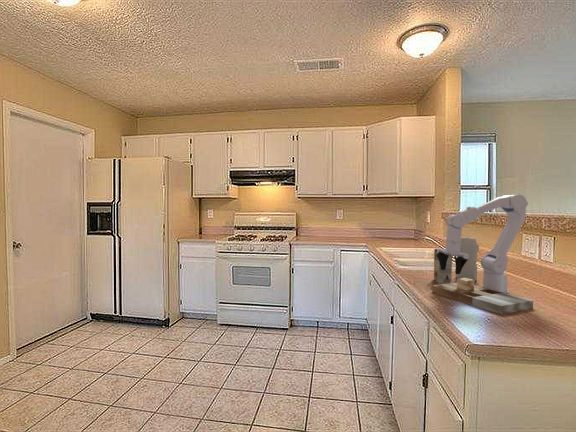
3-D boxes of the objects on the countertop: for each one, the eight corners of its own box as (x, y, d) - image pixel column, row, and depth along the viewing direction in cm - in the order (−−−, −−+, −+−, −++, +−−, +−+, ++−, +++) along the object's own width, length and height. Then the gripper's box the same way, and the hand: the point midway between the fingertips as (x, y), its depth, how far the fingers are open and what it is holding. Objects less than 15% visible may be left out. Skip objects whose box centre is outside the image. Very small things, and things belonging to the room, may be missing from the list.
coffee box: (433, 279, 161) (433, 248, 160) (446, 280, 160) (447, 249, 159) (438, 283, 152) (438, 251, 151) (452, 284, 151) (453, 251, 150)
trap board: (461, 288, 144) (461, 281, 144) (533, 308, 116) (533, 300, 116) (432, 292, 137) (432, 285, 137) (501, 314, 109) (501, 306, 109)
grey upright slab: (478, 279, 160) (479, 237, 160) (477, 281, 157) (478, 238, 156) (455, 276, 167) (456, 236, 166) (453, 278, 164) (455, 236, 163)
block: (464, 286, 135) (464, 277, 135) (473, 289, 131) (474, 279, 131) (456, 287, 133) (457, 278, 133) (466, 290, 129) (466, 280, 129)
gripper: (433, 238, 143) (430, 268, 143) (461, 243, 129) (458, 275, 130) (444, 239, 146) (441, 268, 146) (473, 244, 132) (469, 275, 133)
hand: (450, 271), depth 138 cm, fingers open, 7 cm apart
